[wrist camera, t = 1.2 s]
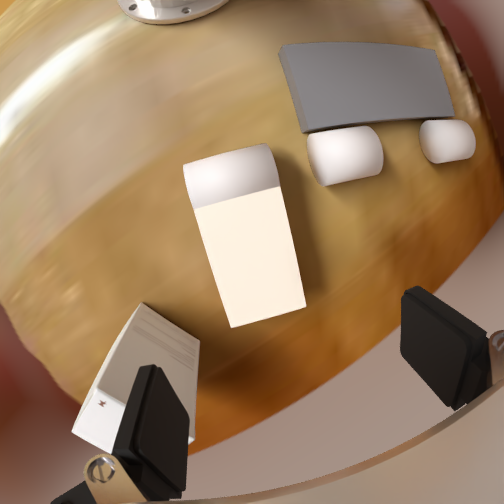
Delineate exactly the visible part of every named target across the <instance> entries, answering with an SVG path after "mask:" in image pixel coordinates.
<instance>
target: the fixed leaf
mask: <svg viewBox="0 0 504 504" xmlns="http://www.w3.org/2000/svg"><path fill="white" fill-rule="evenodd" d="M278 55H279V58H280V61H281V64H282V67H283V70H284V73H285V76H286V79H287V83H288V86H289V89H290V92H291V96H292V99H293V103H294V106H295V110H296V113H297V117H298V120H299V124H300V128H301V131H302V133H305V132H310V131H316V130H322V129H328V128H335V127H342V126H349V125H357V124H365V123H374V122H384V121H396V120H410V119H429V118H448V117H454V116H455V113H454V109H453V105H452V101H451V98H450V94H449V91H448V88H447V84H446V81H445V78H444V75H443V72H442V69H441V66H440V64H439V61H438V58H437V55H436V53H435V50H431V49H425V48H419V47H412V46H404V45H395V44H383V43H367V42H318V43H301V44H289V45H283V46H282V48H281V49H280V51H279V53H278ZM419 142H420V146H421V149H422V151H423V153H424V155H425V156H426V158H427V159H428V160H429V161H431V162H433V163H443V162H449V161H456V160H462V159H468V158H470V157H471V156H472V155H473V153H474V151H475V147H476V141H475V136H474V133H473V131H472V129H471V127H470V126H469V125H468V124H467V123H466V122H465V121H463V120H428V121H425V122H424V123H423V124H422V125H421V127H420V131H419ZM307 153H308V159H309V163H310V166H311V169H312V172H313V174H314V177H315V179H316V180H317V182H318V183H319V184H320V185H321V186H328V185H332V184H336V183H341V182H345V181H350V180H355V179H359V178H364V177H369V176H374V175H377V174H379V173H380V171H381V169H382V166H383V150H382V146H381V143H380V140H379V138H378V136H377V134H376V133H375V132H374V130H373V129H371V128H370V127H368V126H359V127H351V128H344V129H337V130H330V131H324V132H318V133H312V134H310V135H309V136H308V139H307Z"/></svg>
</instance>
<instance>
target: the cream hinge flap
mask: <svg viewBox="0 0 504 504" xmlns="http://www.w3.org/2000/svg"><path fill="white" fill-rule="evenodd" d="M183 170H184V177H185V182H186V186H187V190H188V194H189V197H190V200H191V203H192V206H193V209H194V212H195V215H196V219H197V222H198V226H199V229H200V232H201V236H202V239H203V242H204V246H205V249H206V252H207V255H208V258H209V262H210V265H211V268H212V271H213V274H214V277H215V281H216V284H217V287H218V290H219V293H220V296H221V299H222V302H223V305H224V308H225V311H226V314H227V317H228V320H229V323H230V326H231V328H233V327H237V326H241V325H244V324H248V323H252V322H256V321H259V320H263V319H266V318H270V317H273V316H277V315H280V314H284V313H287V312H291V311H294V310H297V309H301V308H304V307H306V302H305V297H304V292H303V287H302V282H301V277H300V272H299V268H298V263H297V258H296V253H295V249H294V244H293V240H292V235H291V231H290V226H289V222H288V218H287V213H286V209H285V205H284V201H283V196H282V192H281V188H280V182H279V176H278V172H277V168H276V164H275V161H274V158H273V155H272V153H271V150H270V148H269V146H268V145H267V144H266V143H263V144H259V145H255V146H250V147H246V148H242V149H238V150H234V151H230V152H226V153H223V154H219V155H215V156H212V157H208V158H205V159H201V160H198V161H194V162H191V163H188V164H184V166H183Z"/></svg>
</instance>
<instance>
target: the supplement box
mask: <svg viewBox="0 0 504 504" xmlns="http://www.w3.org/2000/svg"><path fill="white" fill-rule="evenodd" d="M199 350H200V341H199V340H198V339H196V338H194V337H193V336H191V335H190V334H188V333H187V332H185V331H183V330H182V329H180V328H179V327H177V326H176V325H174V324H172V323H171V322H169V321H168V320H166V319H165V318H163V317H162V316H160V315H159V314H157V313H156V312H154V311H153V310H152V309H150V308H149V307H147V306H146V305H144V304H143V303H140V305H139V306H138V307H137V309H136V310H135V312H134V313H133V315H132V316H131V317H130V319H129V320H128V322H127V323H126V325H125V326H124V328H123V329H122V331H121V332H120V334H119V336H118V337H117V339H116V340H115V342H114V344H113V346H112V348H111V349H110V351H109V353H108V355H107V357H106V359H105V361H104V363H103V365H102V367H101V369H100V371H99V373H98V375H97V377H96V379H95V381H94V383H93V385H92V387H91V389H90V391H89V393H88V395H87V397H86V399H85V401H84V403H83V406H82V408H81V410H80V413H79V415H78V417H77V419H76V422H75V424H74V426H73V429H72V432H73V433H74V434H76V435H77V436H79V437H81V438H83V439H84V440H86V441H88V442H90V443H91V444H93V445H95V446H97V447H99V448H101V449H102V450H105V451H106V452H108V453H110V454H111V453H112V449H113V445H114V442H115V438H116V435H117V432H118V429H119V425H120V422H121V419H122V416H123V413H124V410H125V407H126V404H127V401H128V398H129V395H130V392H131V389H132V386H133V383H134V381H135V378H136V375H137V372H138V369H139V367H140V366H145V365H151V364H155V365H156V366H157V367H161V368H162V369H163V371H164V373H165V375H166V377H167V379H168V380H169V382H170V384H171V386H172V387H173V389H174V391H175V393H176V394H177V396H178V398H179V399H180V401H181V403H182V404H183V406H184V408H185V409H186V411H187V412H188V415H189V418H190V427H189V440H188V444H190V443H191V442H193V441H194V440H195V411H196V394H197V380H198V365H199Z"/></svg>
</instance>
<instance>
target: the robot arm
mask: <svg viewBox="0 0 504 504" xmlns="http://www.w3.org/2000/svg"><path fill="white" fill-rule="evenodd" d="M117 1H118V4H119V6H120V7H121V9H122V10H123V11H124V13H125V14H126V15H127V16H129V17H131V18H133V19H134V20H137V21H140V22H143V23H150V24H172V23H180V22H184V21H188V20H193V19H195V18H198V17H201V16H204V15H206V14H209V13H211V12H213V11H215V10H217V9H218V8H220V7H221V6H223V5H224V4H226V3H227V2H228V1H229V0H117ZM486 334H487V332H486V331H485V330H483V329H482V328H480V327H479V326H478V325H476V324H475V323H473V322H472V321H471V320H469V319H468V318H466V317H465V316H463V315H462V314H461V313H459V312H458V311H456V310H455V309H453V308H452V307H450V306H449V305H447V304H446V303H444V302H443V301H441V300H440V299H438V298H437V297H435V296H434V295H432V294H431V293H429V292H428V291H426V290H425V289H423V288H421V287H420V286H415V287H413V288H410V289H408V290H406V291H405V292H404V295H403V296H402V298H401V342H400V351H401V355H402V357H403V358H404V359H405V360H406V361H407V362H408V363H409V364H410V366H411V367H412V368H413V369H414V370H415V371H416V372H417V373H418V374H419V376H420V377H421V378H422V379H423V380H424V381H425V382H426V383H427V385H428V386H429V387H430V388H431V389H432V390H433V391H434V392H435V394H436V395H437V396H438V397H439V398H440V400H441V401H442V402H443V403H444V404H445V405H446V406H447V407H450V406H451V408H452V409H453V410H454V411H456V410H457V409H459V408H460V407H462V406H463V405H465V403H466V404H467V405H466V406H465V407H463V408H462V409H460V410H459V411H457V412H456V413H454V414H453V415H451V416H450V417H448V418H446V419H445V420H443V421H442V422H440V423H438V424H437V425H435V426H433V427H432V428H430V429H428V430H427V431H425V432H423V433H421V434H420V435H418V436H416V437H414V438H412V439H411V440H409V441H407V442H405V443H403V444H401V445H399V446H397V447H395V448H393V449H391V450H388V451H386V452H384V453H382V454H380V455H378V456H376V457H373V458H371V459H369V460H366V461H364V462H361V463H358V464H356V465H353V466H351V467H349V468H345V469H343V470H340V471H337V472H334V473H331V474H328V475H325V476H322V477H319V478H316V479H312V480H309V481H305V482H301V483H298V484H294V485H290V486H285V487H281V488H277V489H272V490H267V491H262V492H257V493H251V494H245V495H238V496H231V497H222V498H212V499H200V500H184V501H169V499H181V496H182V491H185V489H186V474H187V456H188V440H189V427H190V418H189V415H188V412H187V411H186V409H185V408H184V406H183V404H182V403H181V401H180V399H179V398H178V396H177V394H176V393H175V391H174V389H173V387H172V386H171V384H170V382H169V380H168V379H167V377H166V375H165V373H164V371H163V369H162V368H161V367H157V366H156V365H155V364H151V365H145V366H140V367H139V369H138V372H137V375H136V378H135V381H134V383H133V386H132V389H131V392H130V395H129V398H128V401H127V404H126V407H125V410H124V413H123V416H122V419H121V422H120V425H119V429H118V432H117V435H116V438H115V442H114V445H113V449H112V453H111V455H110V454H99V455H97V456H94V457H93V458H92V459H90V460H89V461H88V462H87V464H86V466H85V468H84V473H83V475H84V479H85V481H83V482H82V483H80V484H79V485H77V486H76V487H74V488H72V489H71V490H69V491H67V492H66V493H64V494H63V495H61V496H59V497H58V498H56V499H54V500H53V501H52V502H51V504H504V330H499V331H496V332H494V333H493V334H492V335H491V336H490V338H489V339H488V338H487V337H486Z"/></svg>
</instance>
